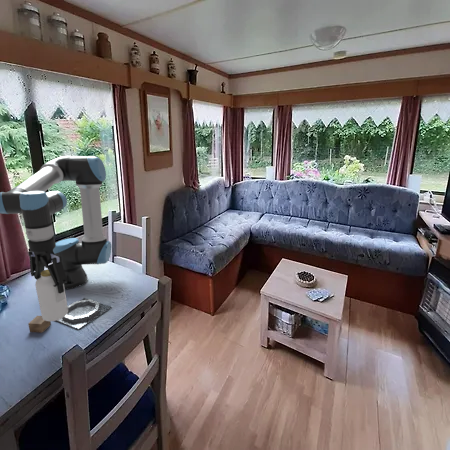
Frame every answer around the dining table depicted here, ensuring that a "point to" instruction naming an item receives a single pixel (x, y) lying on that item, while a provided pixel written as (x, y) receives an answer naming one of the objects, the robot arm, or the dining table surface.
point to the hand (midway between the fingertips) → (52, 297)
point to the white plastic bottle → (50, 298)
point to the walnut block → (38, 324)
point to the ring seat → (83, 313)
